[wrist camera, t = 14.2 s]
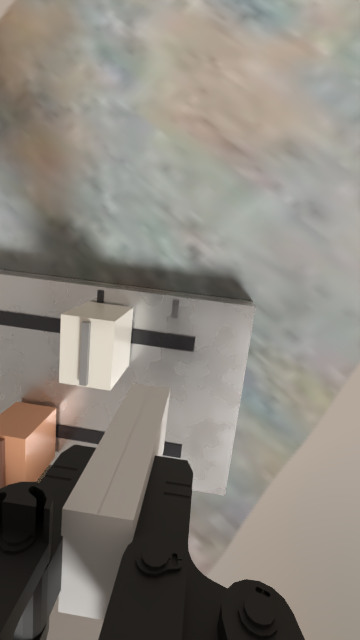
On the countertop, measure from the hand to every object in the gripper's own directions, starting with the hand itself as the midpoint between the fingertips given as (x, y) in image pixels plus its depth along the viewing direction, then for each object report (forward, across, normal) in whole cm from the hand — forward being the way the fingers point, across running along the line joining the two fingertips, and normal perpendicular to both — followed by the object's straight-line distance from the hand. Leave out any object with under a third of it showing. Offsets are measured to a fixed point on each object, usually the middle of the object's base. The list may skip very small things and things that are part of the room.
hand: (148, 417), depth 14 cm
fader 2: (+9, -4, 0) cm, 10 cm away
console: (+12, -6, -4) cm, 14 cm away
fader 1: (+10, -9, -8) cm, 15 cm away
